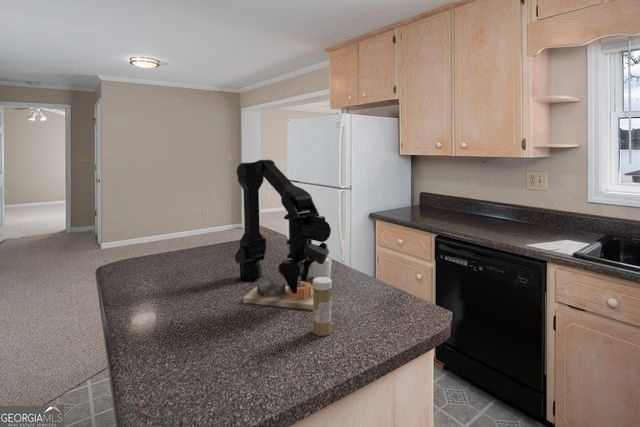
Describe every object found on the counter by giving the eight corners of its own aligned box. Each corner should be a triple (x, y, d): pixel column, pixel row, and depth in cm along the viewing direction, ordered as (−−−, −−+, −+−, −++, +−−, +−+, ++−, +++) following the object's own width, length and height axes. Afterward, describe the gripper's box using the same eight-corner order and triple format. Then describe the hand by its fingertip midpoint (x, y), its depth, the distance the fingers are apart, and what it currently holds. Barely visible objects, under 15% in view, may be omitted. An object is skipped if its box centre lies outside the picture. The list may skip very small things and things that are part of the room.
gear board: (242, 302, 110) (242, 284, 109) (259, 288, 122) (259, 271, 121) (315, 310, 105) (315, 291, 104) (326, 294, 116) (326, 277, 115)
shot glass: (330, 282, 127) (329, 262, 126) (310, 281, 128) (309, 261, 127) (333, 275, 133) (333, 256, 132) (314, 274, 135) (314, 255, 134)
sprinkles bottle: (311, 328, 94) (311, 276, 92) (329, 327, 95) (329, 275, 92) (314, 337, 89) (314, 283, 87) (333, 335, 90) (333, 281, 88)
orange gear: (284, 298, 109) (284, 288, 109) (292, 289, 116) (292, 280, 116) (307, 300, 108) (307, 290, 107) (314, 291, 114) (314, 282, 114)
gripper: (317, 245, 98) (317, 302, 101) (333, 230, 116) (333, 279, 118) (277, 243, 101) (278, 298, 103) (298, 229, 119) (299, 276, 121)
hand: (299, 287), depth 111 cm, fingers open, 9 cm apart
